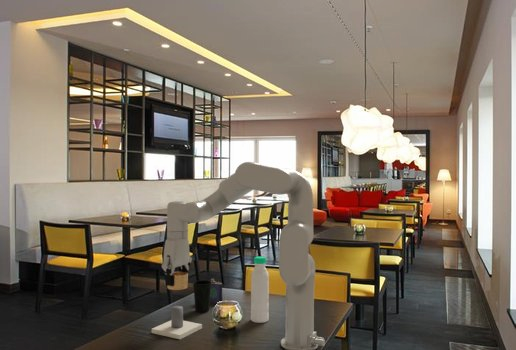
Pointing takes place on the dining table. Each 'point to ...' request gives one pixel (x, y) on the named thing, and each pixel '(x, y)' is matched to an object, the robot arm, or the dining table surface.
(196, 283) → the cup
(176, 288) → the collar
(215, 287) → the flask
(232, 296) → the dining table surface
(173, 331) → the stand
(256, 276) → the water bottle
